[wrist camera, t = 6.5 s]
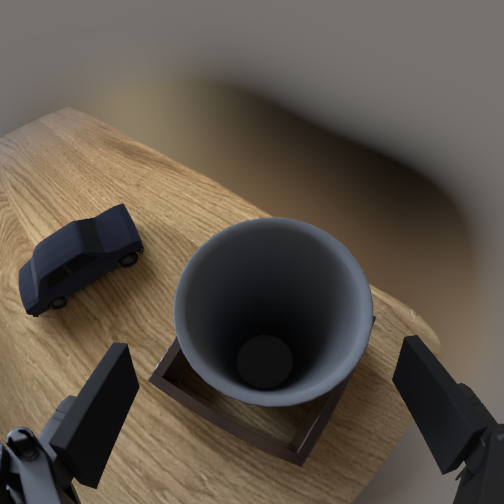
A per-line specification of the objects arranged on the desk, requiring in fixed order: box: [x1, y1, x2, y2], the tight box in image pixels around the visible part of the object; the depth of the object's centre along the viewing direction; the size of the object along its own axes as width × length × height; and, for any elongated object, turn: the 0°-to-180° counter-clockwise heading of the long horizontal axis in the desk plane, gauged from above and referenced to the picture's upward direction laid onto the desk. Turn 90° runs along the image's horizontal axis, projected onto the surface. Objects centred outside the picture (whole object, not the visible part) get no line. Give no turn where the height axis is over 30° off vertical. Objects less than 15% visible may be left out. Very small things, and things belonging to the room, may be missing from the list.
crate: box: [148, 316, 376, 467], centre depth 21 cm, size 12×12×4 cm
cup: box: [173, 218, 373, 407], centre depth 16 cm, size 7×7×15 cm
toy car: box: [19, 204, 144, 317], centre depth 25 cm, size 6×15×5 cm, turn 123°
